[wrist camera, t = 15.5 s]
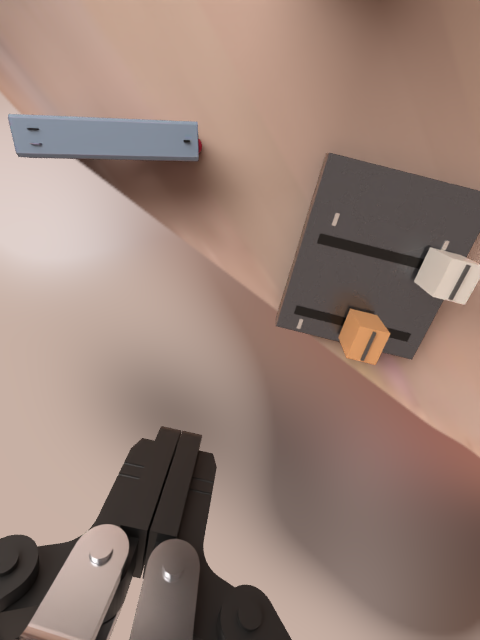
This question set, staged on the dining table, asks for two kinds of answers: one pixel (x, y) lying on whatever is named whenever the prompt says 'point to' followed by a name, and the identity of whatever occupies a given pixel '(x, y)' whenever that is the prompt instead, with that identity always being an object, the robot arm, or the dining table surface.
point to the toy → (104, 138)
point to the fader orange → (363, 336)
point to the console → (374, 250)
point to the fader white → (448, 276)
